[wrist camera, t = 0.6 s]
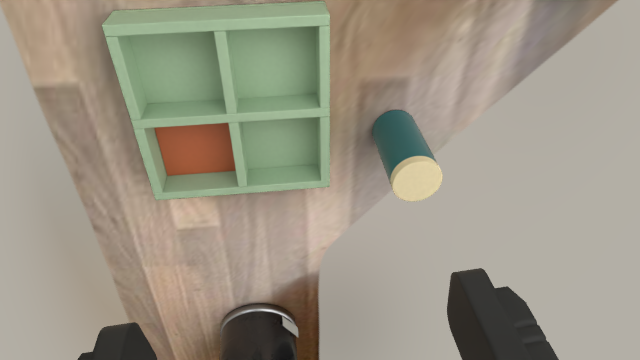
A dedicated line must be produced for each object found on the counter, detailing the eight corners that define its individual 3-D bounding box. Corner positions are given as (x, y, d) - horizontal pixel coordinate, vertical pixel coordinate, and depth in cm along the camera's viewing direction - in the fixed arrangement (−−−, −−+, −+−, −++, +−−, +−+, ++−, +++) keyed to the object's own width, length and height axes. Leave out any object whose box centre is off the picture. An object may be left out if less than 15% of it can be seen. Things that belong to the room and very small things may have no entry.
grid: (325, 166, 43) (329, 187, 41) (161, 178, 42) (155, 200, 40) (324, 0, 34) (330, 14, 31) (113, 10, 33) (100, 25, 30)
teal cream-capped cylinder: (412, 145, 43) (438, 199, 37) (370, 148, 43) (390, 203, 36) (417, 108, 40) (446, 159, 34) (373, 111, 40) (394, 163, 34)
